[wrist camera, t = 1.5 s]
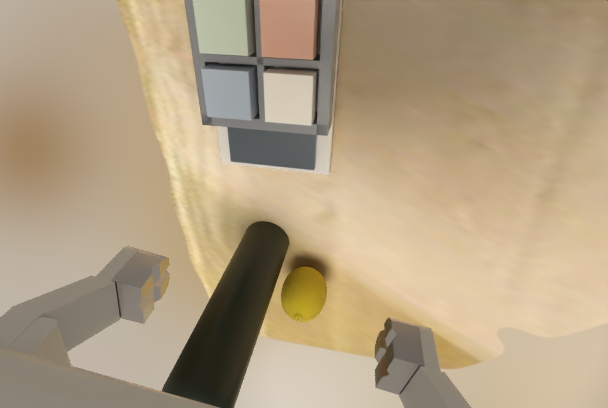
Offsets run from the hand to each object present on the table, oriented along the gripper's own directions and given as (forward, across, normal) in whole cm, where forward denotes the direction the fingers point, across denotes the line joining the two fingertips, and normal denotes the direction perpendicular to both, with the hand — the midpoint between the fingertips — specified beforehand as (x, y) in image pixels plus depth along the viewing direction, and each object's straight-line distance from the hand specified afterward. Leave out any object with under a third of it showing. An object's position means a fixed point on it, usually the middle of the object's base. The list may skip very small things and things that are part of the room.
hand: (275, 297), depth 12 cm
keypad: (+25, +6, -1) cm, 25 cm away
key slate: (+21, +9, 0) cm, 23 cm away
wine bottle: (+25, +4, +19) cm, 32 cm away
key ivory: (+21, +4, -1) cm, 22 cm away
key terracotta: (+21, +5, -6) cm, 23 cm away
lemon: (+25, -2, +22) cm, 33 cm away
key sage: (+21, +10, -5) cm, 24 cm away
